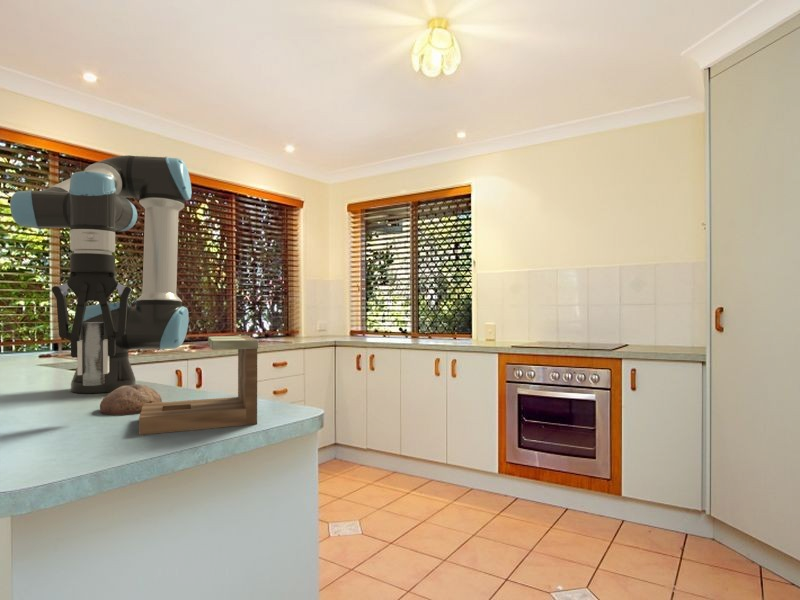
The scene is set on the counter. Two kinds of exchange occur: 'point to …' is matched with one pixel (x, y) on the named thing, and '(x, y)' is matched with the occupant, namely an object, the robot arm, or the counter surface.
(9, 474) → the counter surface
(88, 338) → the peg
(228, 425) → the socket station
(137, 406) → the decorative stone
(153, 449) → the counter surface
